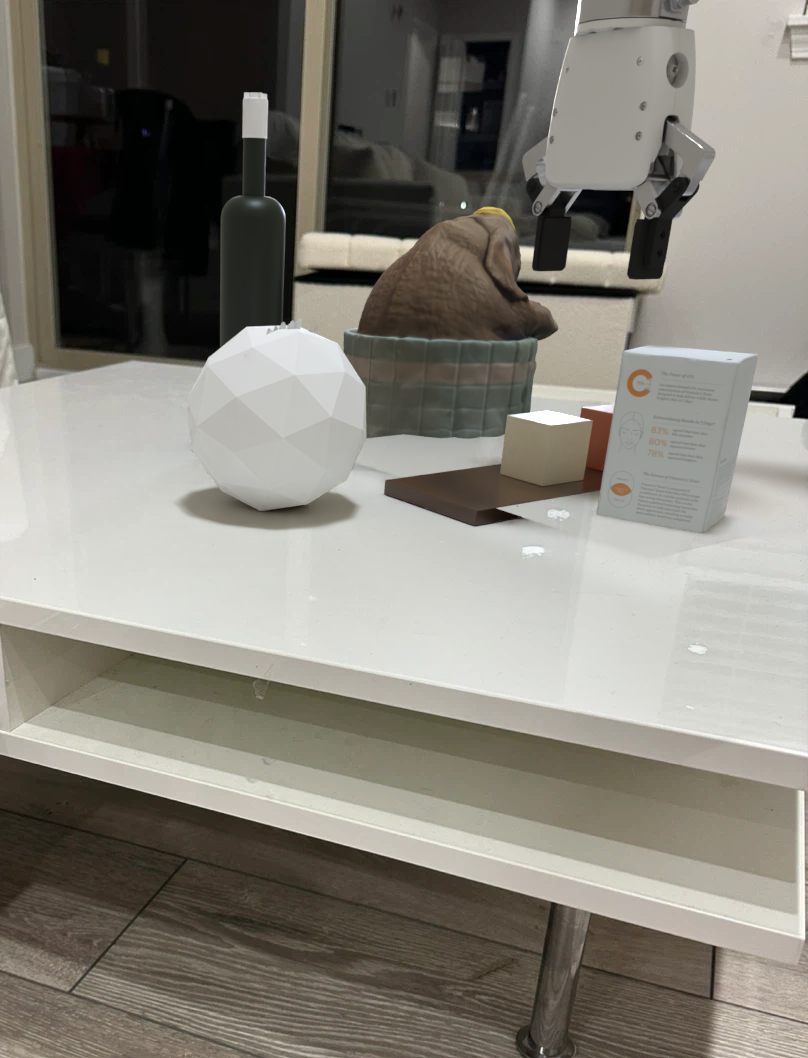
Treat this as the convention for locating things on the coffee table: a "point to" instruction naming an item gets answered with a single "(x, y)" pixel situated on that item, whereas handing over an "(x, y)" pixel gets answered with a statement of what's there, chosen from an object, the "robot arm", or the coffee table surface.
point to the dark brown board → (481, 492)
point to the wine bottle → (252, 237)
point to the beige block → (545, 447)
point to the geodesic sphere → (277, 416)
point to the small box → (675, 435)
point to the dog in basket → (450, 334)
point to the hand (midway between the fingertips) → (594, 274)
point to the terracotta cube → (598, 433)
